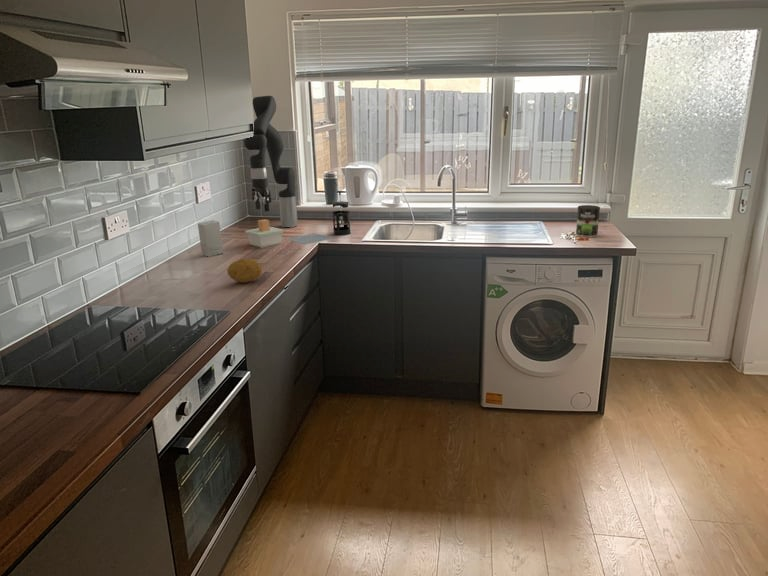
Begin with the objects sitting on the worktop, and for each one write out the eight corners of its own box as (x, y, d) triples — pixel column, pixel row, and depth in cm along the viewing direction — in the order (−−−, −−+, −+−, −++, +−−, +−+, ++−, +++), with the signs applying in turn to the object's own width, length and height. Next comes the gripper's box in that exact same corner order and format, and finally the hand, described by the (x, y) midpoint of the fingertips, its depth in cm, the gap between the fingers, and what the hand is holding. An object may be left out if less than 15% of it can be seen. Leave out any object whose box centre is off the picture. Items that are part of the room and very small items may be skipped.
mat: (285, 240, 297) (285, 239, 296) (314, 234, 308) (314, 233, 308) (304, 245, 284) (304, 244, 283) (334, 239, 295) (334, 238, 295)
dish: (249, 244, 289) (248, 233, 287) (270, 240, 296) (269, 229, 295) (261, 248, 280) (260, 236, 279) (282, 244, 288) (281, 232, 286)
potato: (226, 281, 228) (223, 258, 225) (259, 276, 233) (257, 254, 231) (231, 287, 220) (228, 264, 217) (265, 282, 225) (263, 259, 222)
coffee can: (597, 237, 278) (599, 209, 274) (574, 236, 282) (576, 208, 278) (598, 233, 287) (600, 205, 283) (576, 232, 291) (578, 204, 287)
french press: (346, 237, 298) (343, 192, 291) (329, 236, 302) (327, 192, 295) (354, 232, 309) (352, 189, 302) (338, 231, 312) (336, 189, 305)
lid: (245, 233, 287) (243, 220, 285) (269, 228, 296) (268, 216, 294) (259, 237, 277) (258, 224, 275) (284, 232, 286) (283, 219, 284)
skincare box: (217, 251, 277) (213, 219, 272) (224, 253, 272) (220, 221, 268) (201, 255, 271) (196, 222, 267) (208, 257, 267) (203, 224, 262)
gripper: (245, 176, 281) (248, 209, 286) (259, 179, 271) (263, 213, 276) (258, 175, 286) (262, 207, 291) (273, 177, 275) (276, 210, 280)
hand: (262, 210), depth 283 cm, fingers open, 8 cm apart
